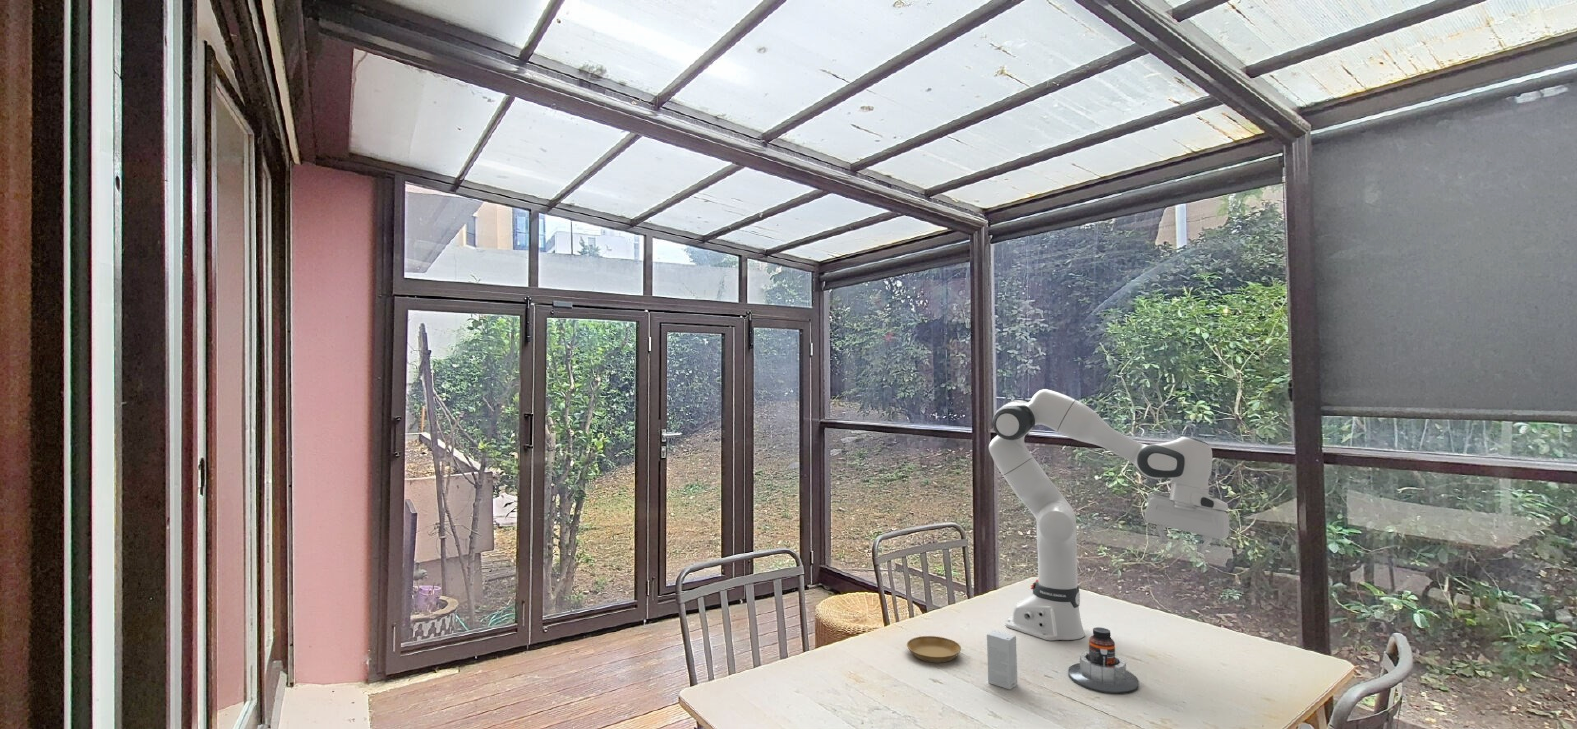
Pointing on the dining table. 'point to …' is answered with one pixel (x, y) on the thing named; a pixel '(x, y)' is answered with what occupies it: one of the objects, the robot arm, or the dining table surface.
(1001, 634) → the skincare box
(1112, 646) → the supplement bottle
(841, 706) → the dining table surface
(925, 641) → the plant saucer
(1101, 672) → the duct collar
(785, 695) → the dining table surface
